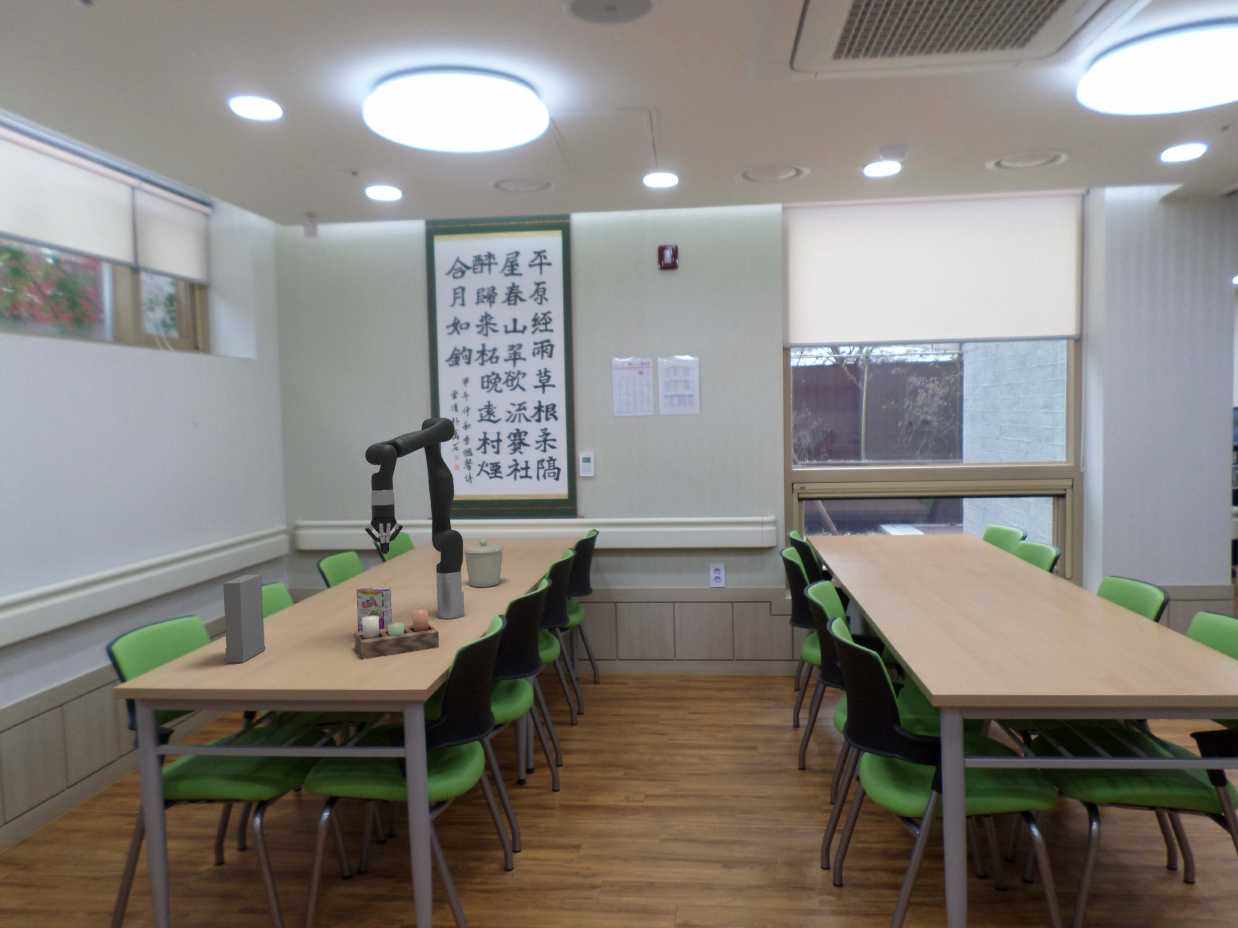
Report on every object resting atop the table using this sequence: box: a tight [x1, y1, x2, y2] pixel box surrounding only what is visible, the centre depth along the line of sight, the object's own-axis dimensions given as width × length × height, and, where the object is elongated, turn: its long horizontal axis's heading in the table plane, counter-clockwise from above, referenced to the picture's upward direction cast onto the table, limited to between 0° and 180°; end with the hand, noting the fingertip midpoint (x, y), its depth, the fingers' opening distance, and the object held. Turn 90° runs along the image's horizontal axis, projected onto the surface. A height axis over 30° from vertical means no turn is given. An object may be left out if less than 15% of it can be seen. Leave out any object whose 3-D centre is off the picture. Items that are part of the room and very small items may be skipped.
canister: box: [463, 538, 505, 588], centre depth 351 cm, size 18×18×21 cm
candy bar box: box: [356, 586, 393, 632], centre depth 269 cm, size 11×5×16 cm, turn 71°
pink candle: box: [412, 608, 429, 632], centre depth 257 cm, size 5×5×7 cm
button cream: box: [362, 616, 379, 640], centre depth 249 cm, size 5×5×7 cm
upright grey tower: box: [223, 574, 266, 664], centre depth 246 cm, size 14×6×25 cm, turn 178°
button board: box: [353, 623, 440, 659], centre depth 253 cm, size 24×14×5 cm, turn 118°
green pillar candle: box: [388, 622, 405, 636], centre depth 253 cm, size 5×5×7 cm
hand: (384, 553), depth 264 cm, fingers closed
